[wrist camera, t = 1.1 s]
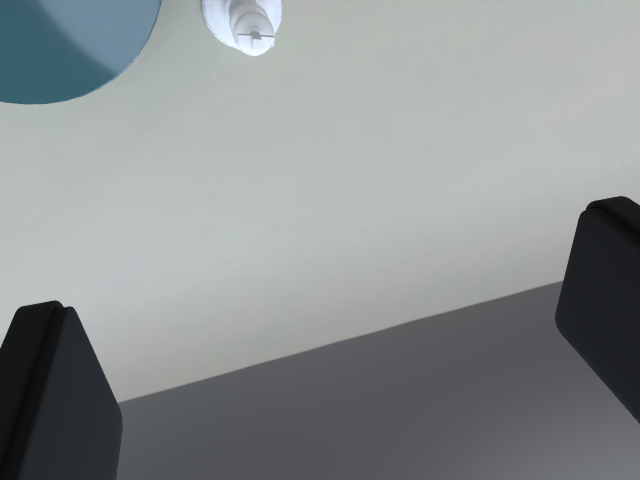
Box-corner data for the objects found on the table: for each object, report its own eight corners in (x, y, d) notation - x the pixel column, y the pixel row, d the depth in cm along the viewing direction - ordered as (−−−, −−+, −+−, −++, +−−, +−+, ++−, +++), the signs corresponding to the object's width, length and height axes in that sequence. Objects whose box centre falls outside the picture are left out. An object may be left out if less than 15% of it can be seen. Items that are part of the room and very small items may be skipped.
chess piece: (200, -43, 30) (201, -21, 22) (285, -34, 31) (315, -10, 23) (202, 45, 33) (203, 94, 24) (279, 50, 34) (305, 99, 25)
